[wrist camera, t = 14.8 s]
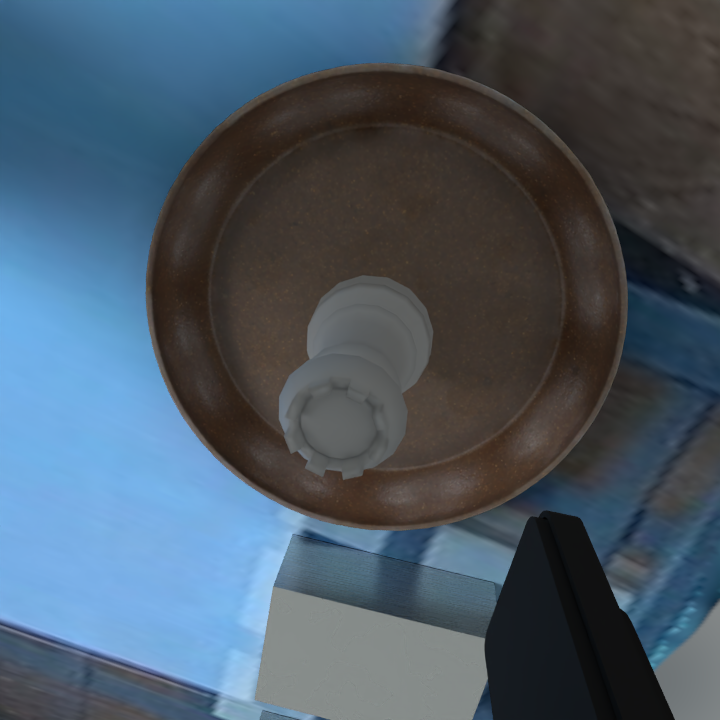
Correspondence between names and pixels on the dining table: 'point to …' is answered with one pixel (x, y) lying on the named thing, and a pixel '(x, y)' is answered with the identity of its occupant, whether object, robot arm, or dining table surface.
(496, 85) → the dining table surface
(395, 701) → the bench vise
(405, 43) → the dining table surface
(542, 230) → the plant saucer
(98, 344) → the dining table surface
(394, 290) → the rook chess piece
